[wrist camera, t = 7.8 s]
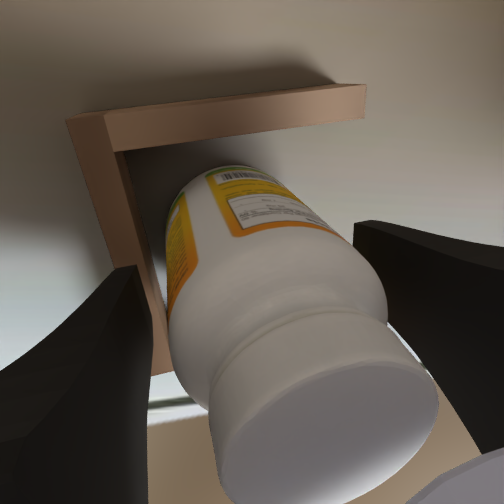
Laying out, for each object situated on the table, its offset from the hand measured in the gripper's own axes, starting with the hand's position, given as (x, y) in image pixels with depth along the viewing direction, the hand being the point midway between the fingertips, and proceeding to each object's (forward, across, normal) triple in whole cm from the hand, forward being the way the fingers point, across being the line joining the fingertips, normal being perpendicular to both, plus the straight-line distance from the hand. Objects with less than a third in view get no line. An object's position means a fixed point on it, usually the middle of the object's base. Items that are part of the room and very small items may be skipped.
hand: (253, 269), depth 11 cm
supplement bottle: (+4, 0, 0) cm, 4 cm away
